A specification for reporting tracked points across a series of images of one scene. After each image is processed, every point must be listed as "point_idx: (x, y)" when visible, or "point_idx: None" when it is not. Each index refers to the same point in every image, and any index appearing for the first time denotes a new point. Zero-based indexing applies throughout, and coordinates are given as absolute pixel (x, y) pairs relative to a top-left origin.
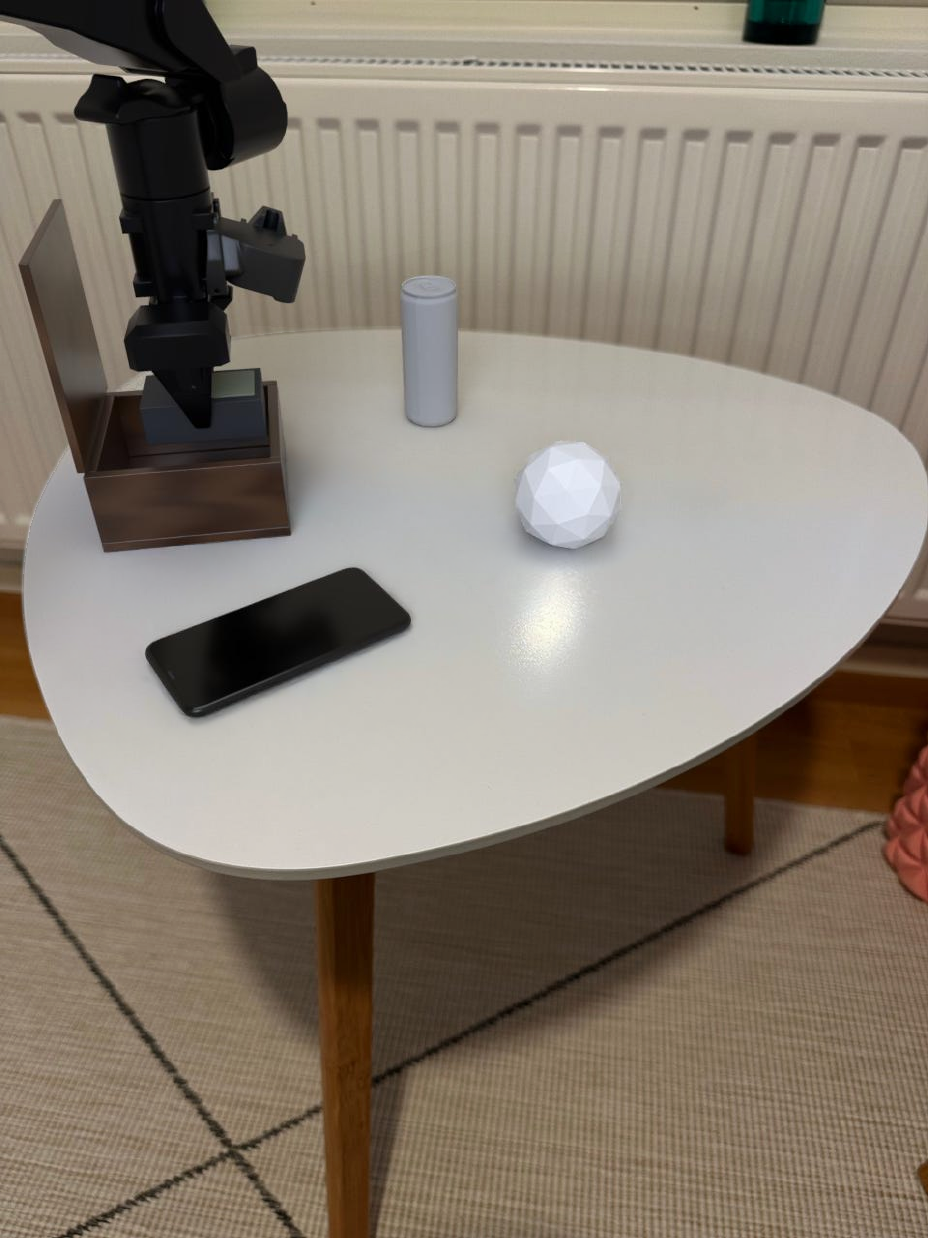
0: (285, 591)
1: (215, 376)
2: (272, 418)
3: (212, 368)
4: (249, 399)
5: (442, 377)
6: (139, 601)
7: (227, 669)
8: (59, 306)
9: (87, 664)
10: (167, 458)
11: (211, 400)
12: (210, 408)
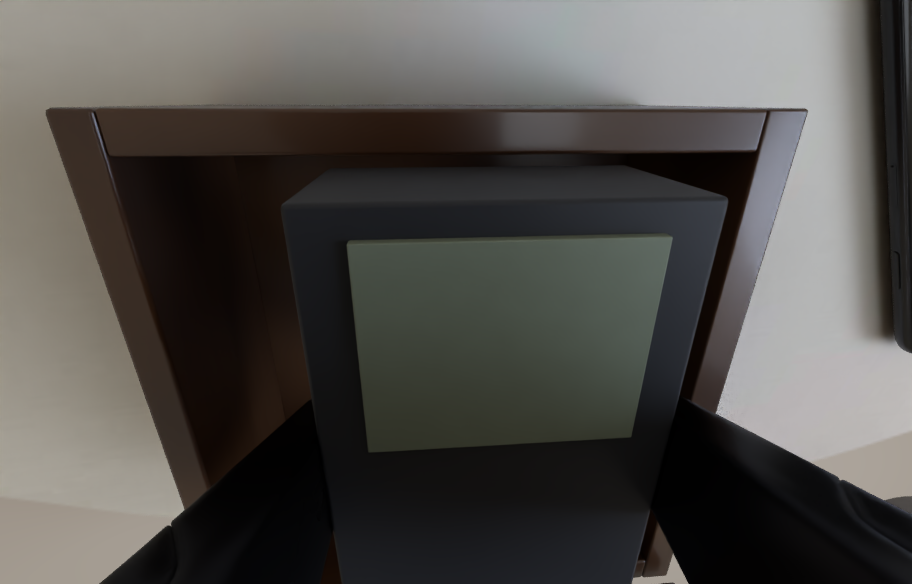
0: (909, 123)
1: (413, 431)
2: (450, 137)
3: (312, 451)
4: (706, 259)
5: None
6: (744, 370)
7: None
8: None
9: (853, 413)
10: (302, 386)
11: (691, 428)
12: (724, 419)
